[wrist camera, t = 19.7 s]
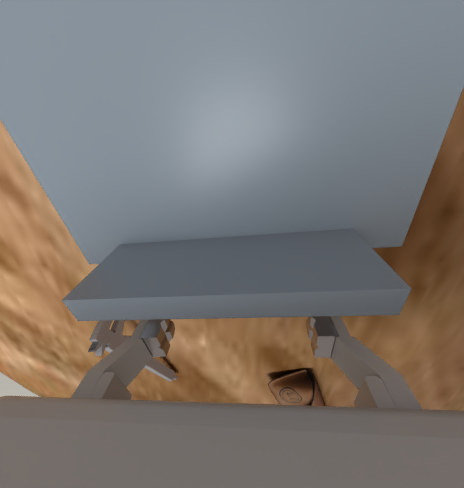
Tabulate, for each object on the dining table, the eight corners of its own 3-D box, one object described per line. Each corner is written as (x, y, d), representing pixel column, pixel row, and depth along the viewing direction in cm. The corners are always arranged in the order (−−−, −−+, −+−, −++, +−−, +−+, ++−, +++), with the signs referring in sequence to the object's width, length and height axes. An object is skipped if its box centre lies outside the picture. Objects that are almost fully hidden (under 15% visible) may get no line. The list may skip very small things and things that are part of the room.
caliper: (111, 303, 28) (79, 345, 23) (118, 302, 28) (86, 344, 23) (173, 376, 38) (160, 417, 33) (178, 375, 38) (166, 417, 33)
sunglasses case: (264, 385, 35) (295, 420, 29) (289, 354, 37) (322, 381, 32) (288, 423, 43) (316, 455, 38) (308, 395, 46) (336, 422, 40)
